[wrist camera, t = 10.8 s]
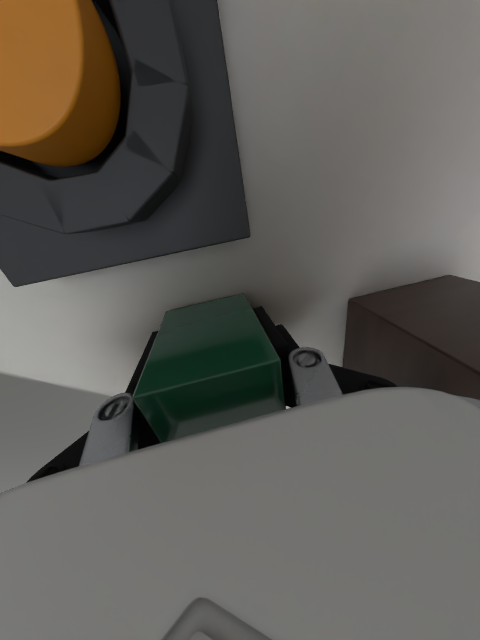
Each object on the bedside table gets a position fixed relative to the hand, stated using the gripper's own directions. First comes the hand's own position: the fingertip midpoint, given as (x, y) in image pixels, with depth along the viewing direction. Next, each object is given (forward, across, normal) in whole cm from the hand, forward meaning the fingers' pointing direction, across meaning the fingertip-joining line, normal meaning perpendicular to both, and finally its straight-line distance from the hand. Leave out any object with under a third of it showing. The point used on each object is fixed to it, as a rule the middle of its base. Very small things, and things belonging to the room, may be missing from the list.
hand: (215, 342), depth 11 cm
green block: (+1, 0, 0) cm, 1 cm away
